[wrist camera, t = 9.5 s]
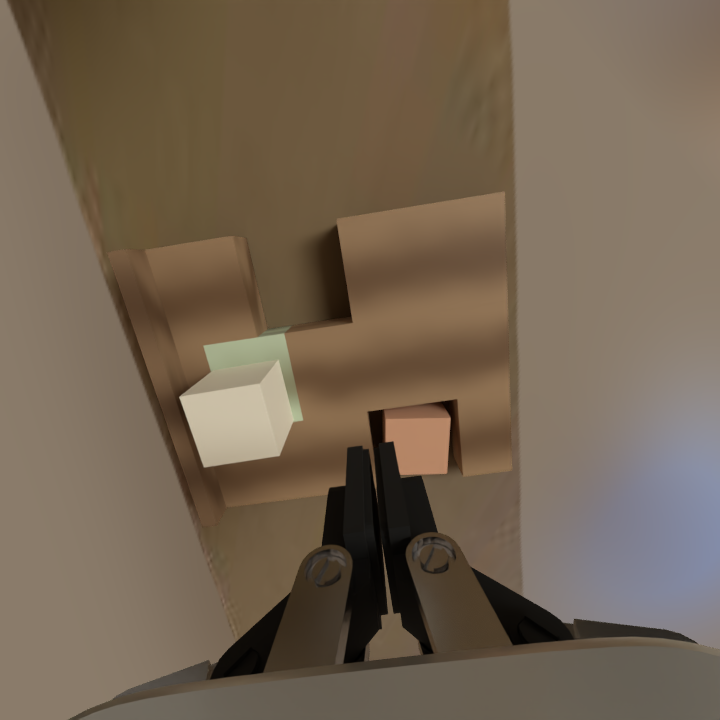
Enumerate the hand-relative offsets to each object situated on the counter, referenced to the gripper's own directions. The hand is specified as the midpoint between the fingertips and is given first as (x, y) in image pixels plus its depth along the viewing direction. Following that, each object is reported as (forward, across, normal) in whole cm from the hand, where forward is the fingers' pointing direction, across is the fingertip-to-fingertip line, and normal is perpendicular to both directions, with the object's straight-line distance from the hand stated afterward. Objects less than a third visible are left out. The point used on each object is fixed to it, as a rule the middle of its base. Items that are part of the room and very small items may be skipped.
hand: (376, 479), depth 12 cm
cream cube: (+14, +9, +1) cm, 16 cm away
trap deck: (+17, +2, +1) cm, 17 cm away
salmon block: (+17, -3, +8) cm, 19 cm away
